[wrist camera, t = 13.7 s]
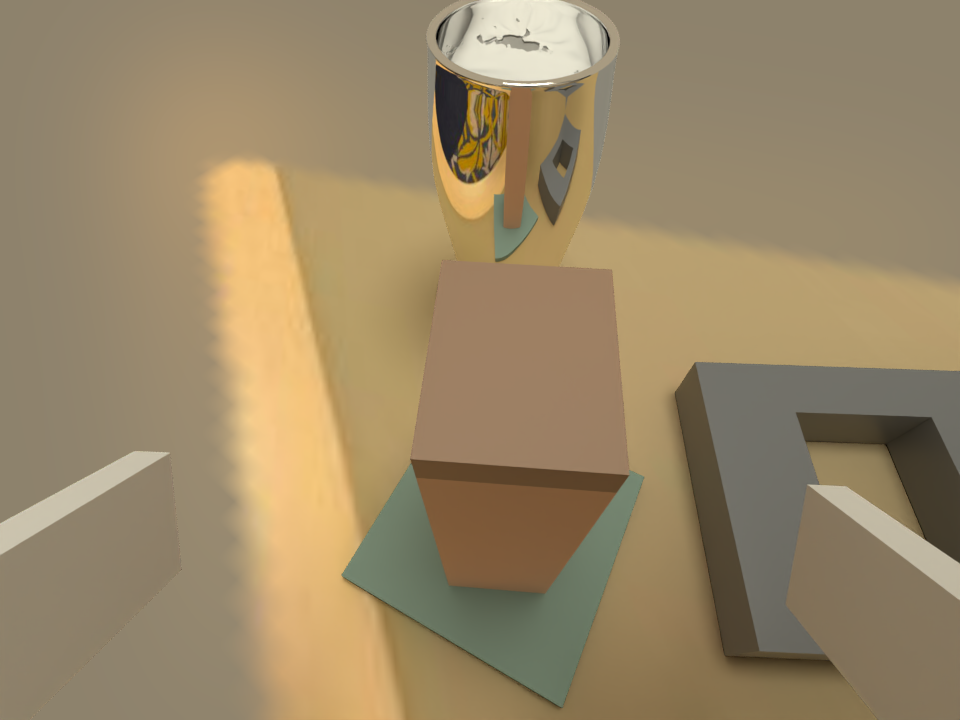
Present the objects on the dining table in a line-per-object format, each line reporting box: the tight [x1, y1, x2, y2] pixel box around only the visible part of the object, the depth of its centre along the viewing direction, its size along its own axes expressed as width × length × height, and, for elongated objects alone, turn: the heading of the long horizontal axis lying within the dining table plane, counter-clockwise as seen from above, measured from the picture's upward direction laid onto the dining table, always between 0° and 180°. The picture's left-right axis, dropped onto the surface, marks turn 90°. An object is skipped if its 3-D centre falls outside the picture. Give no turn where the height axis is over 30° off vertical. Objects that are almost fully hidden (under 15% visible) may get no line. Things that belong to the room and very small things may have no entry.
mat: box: [341, 463, 644, 708], centre depth 23 cm, size 10×10×1 cm
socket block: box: [675, 362, 960, 661], centre depth 22 cm, size 14×12×3 cm
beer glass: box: [426, 0, 620, 267], centre depth 23 cm, size 7×7×15 cm
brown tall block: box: [410, 260, 629, 594], centre depth 17 cm, size 4×5×14 cm
